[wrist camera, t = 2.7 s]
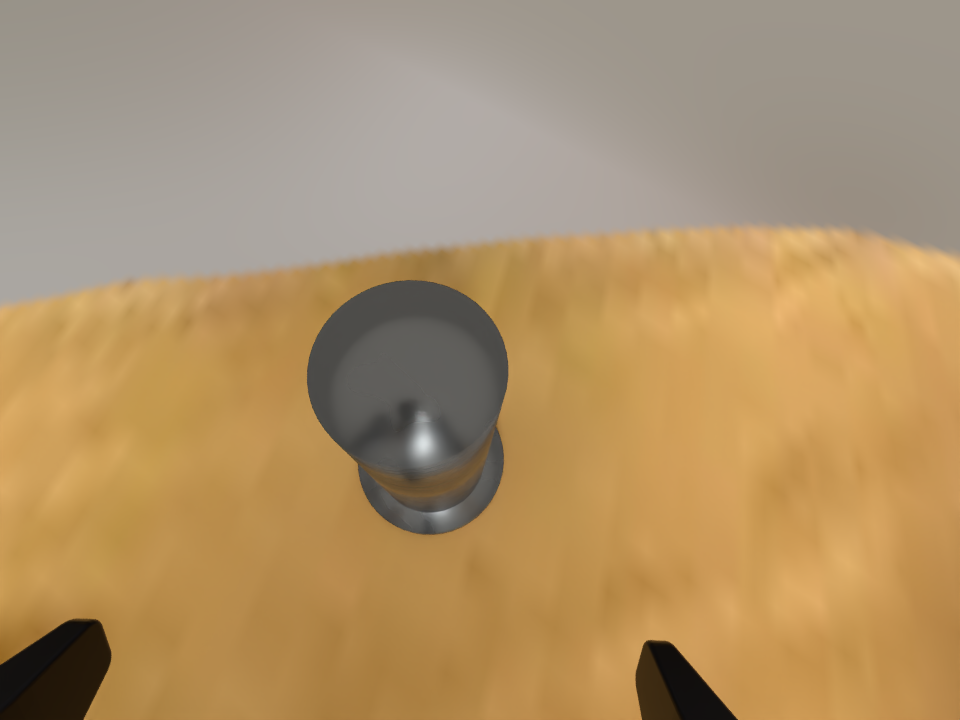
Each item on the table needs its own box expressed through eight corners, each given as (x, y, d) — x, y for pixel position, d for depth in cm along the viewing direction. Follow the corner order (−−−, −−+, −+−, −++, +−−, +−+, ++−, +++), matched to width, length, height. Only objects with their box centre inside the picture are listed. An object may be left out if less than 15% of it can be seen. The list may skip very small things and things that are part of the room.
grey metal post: (531, 456, 21) (598, 361, 11) (433, 568, 20) (407, 576, 9) (431, 367, 23) (409, 210, 13) (330, 464, 21) (210, 372, 11)
